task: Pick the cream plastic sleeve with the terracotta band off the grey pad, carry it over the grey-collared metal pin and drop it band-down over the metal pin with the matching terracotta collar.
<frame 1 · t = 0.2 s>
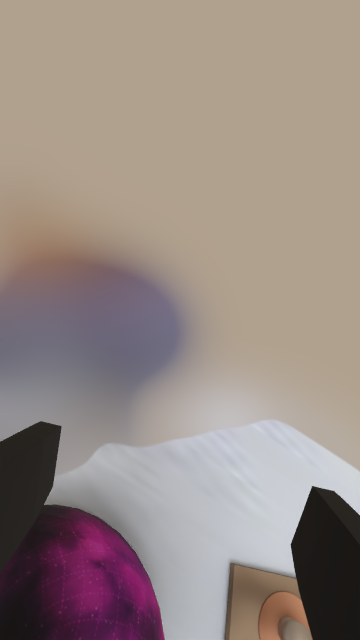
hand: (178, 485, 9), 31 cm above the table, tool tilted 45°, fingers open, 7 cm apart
decorative sphere: (46, 637, 28), on the table
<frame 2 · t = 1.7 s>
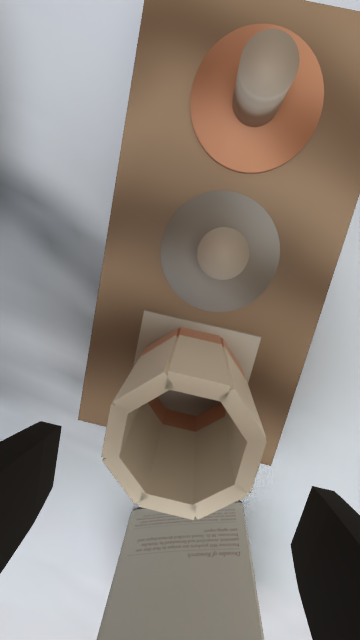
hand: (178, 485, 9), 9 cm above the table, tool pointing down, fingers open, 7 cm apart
sleeve: (189, 378, 16), point 2 cm above the table, touching pin board
supplement box: (193, 547, 21), on the table
pin board: (217, 253, 16), on the table
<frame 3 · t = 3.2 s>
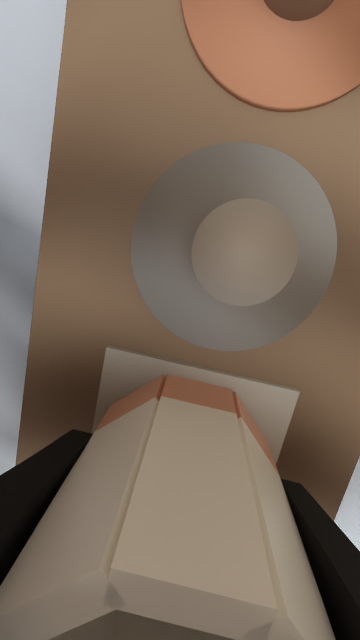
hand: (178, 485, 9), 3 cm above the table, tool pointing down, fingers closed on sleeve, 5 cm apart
sleeve: (181, 454, 10), point 2 cm above the table, touching gripper, pin board
pin board: (226, 253, 10), on the table
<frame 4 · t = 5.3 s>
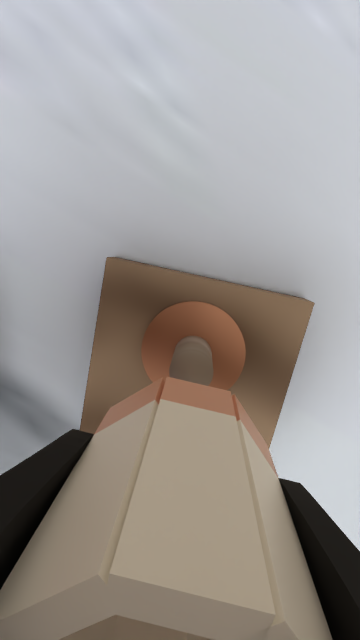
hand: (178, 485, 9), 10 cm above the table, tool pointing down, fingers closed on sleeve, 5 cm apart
sleeve: (180, 456, 10), point 9 cm above the table, touching gripper
pin board: (171, 439, 20), on the table
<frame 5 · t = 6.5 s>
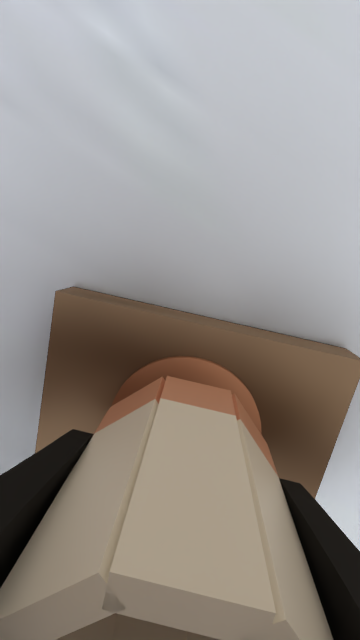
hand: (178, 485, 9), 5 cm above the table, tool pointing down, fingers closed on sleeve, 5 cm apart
sleeve: (180, 455, 10), point 3 cm above the table, touching gripper
pin board: (156, 531, 15), on the table
when the fingers open (4 cm above the table, at t = 7.4 s): sleeve drops 1 cm, resting on pin board.
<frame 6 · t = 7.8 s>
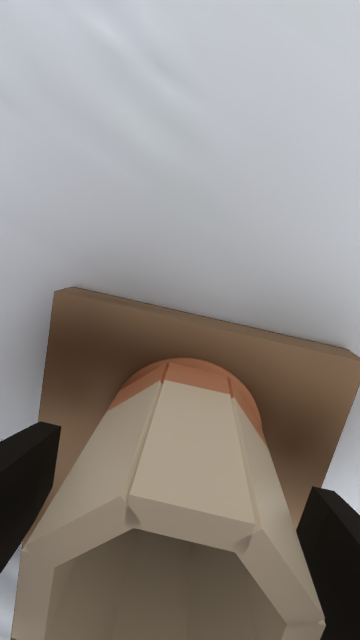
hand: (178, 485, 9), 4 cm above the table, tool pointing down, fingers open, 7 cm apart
sleeve: (182, 434, 11), point 2 cm above the table, touching pin board
pin board: (156, 533, 14), on the table
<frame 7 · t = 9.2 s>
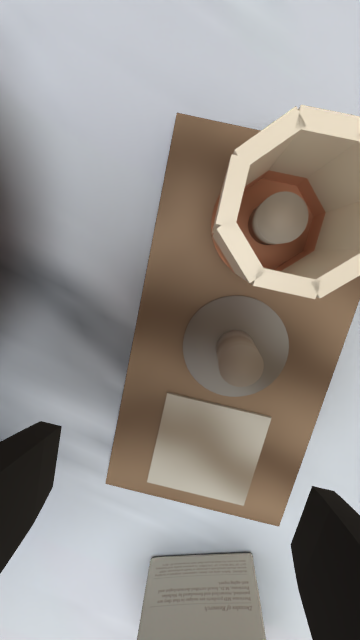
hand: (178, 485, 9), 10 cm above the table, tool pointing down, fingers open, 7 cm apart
sleeve: (268, 225, 15), point 2 cm above the table, touching pin board
supplement box: (206, 590, 23), on the table
pin board: (232, 339, 18), on the table
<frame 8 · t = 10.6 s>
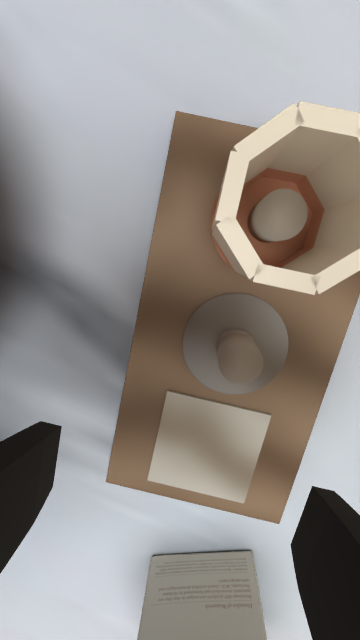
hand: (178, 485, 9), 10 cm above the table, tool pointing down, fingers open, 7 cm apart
sleeve: (267, 222, 15), point 2 cm above the table, touching pin board
supplement box: (207, 589, 23), on the table
pin board: (231, 336, 18), on the table
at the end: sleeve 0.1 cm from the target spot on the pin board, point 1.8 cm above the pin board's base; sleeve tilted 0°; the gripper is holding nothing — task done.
